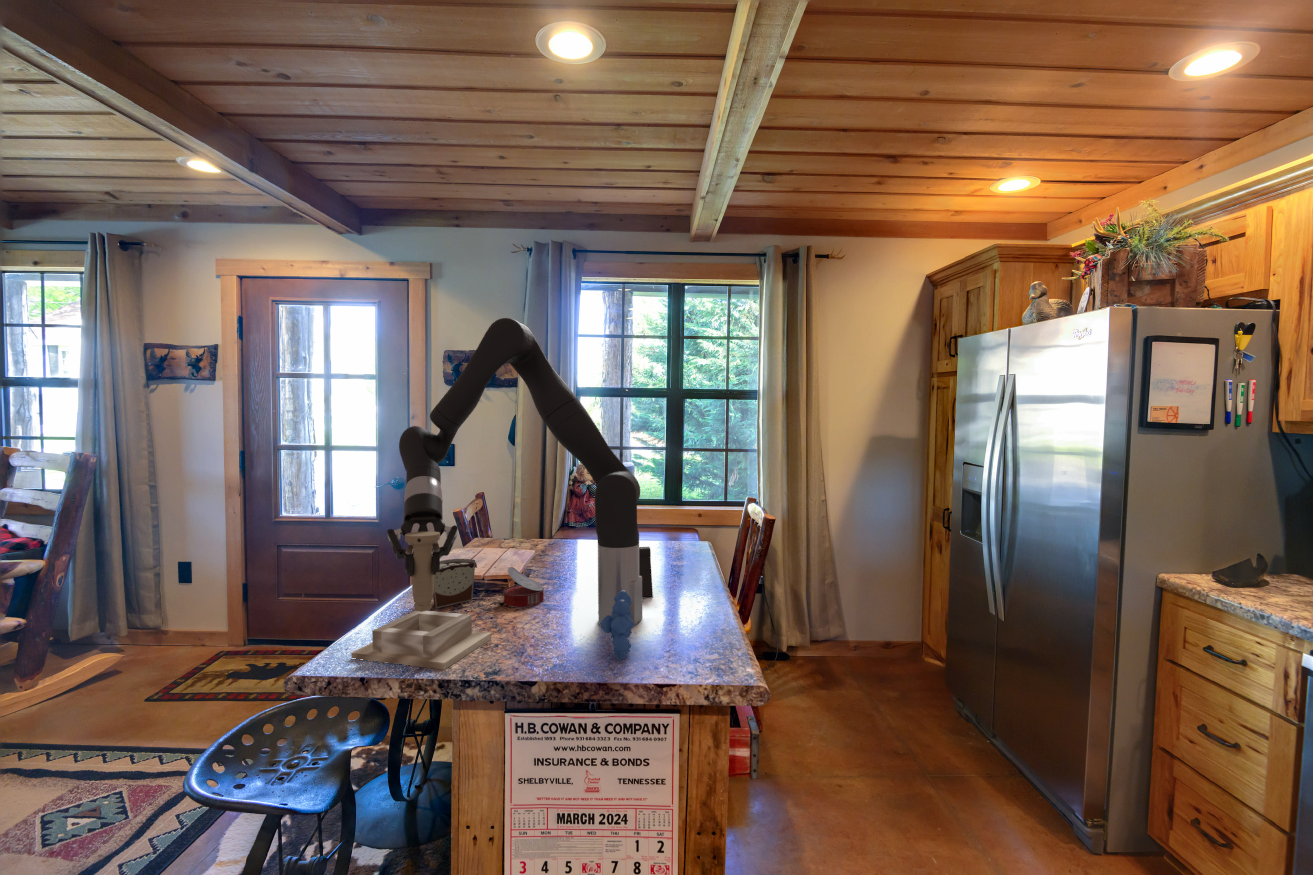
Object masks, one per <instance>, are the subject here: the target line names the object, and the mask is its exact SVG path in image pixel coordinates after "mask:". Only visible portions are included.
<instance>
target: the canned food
mask: <svg viewBox="0 0 1313 875" xmlns="http://www.w3.org/2000/svg"><path fill="white" fill-rule="evenodd" d="M507 572H508V573H507V574H508V576H510V578H511V579H512V580H513V582H515V583H517V585H512V586H508V587H506V588H504V589H503V604H504V605H505V604H506V605H505V606H507V605H508V607H512V606H513V607H515V608H523V607H526V606H527V607H532V606H537V605H539V604H542V603H543V602H545V601H544V600H545V599H544V598H545V597H544V596H545V595H544V594H545V593H544V592H545V590H544V586H542V585H541V583H538V582H537V581H535V580H533V579H532V578H530V577H528V576H526V575H525V574H523V573H522V572H520V571H519V570H518V569H517V568H515V567H513V566H508V568H507ZM527 607H526V608H527Z"/></svg>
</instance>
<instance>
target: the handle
mask: <svg viewBox="0 0 1313 875" xmlns="http://www.w3.org/2000/svg"><path fill="white" fill-rule="evenodd" d="M440 538H441V536H440V532H412V533H407V534H405V537H404V541H405V542H406V543H407V544H408V543H409V544H411V545H412V546H413V550H414V555H413V576H412V578H411V579H412V580H411V584H412V585H411V589H412V590H411V591H412V598H413V602H414V604H413V608H414V611H415V610H416V611H420V612H423V611H431V609H432V608H433V605H434V601H433V592H434V575H432V554H433V553H432V545H433V544H434V543H435V542H437V541H438V542H439V540H440Z"/></svg>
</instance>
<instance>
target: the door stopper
mask: <svg viewBox="0 0 1313 875" xmlns="http://www.w3.org/2000/svg"><path fill="white" fill-rule="evenodd" d="M651 551H652V550H651V547H650V546H639V576H642V597H652V598H653V597H654V594H653V593H654V592H653V578H652V577H653V576H652V564H651V563H652V562H651V560H652V559H651Z"/></svg>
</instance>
